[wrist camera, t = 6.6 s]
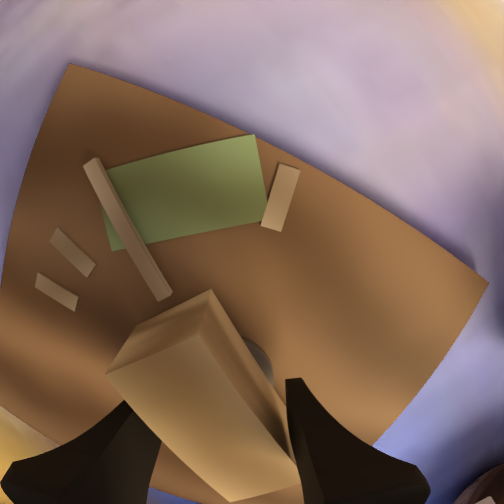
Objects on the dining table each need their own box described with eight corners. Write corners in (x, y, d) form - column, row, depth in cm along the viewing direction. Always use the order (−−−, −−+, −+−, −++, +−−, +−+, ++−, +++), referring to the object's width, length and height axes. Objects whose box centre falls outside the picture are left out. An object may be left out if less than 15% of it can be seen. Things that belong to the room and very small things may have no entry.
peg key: (225, 441, 15) (221, 503, 11) (58, 190, 12) (-6, 202, 7) (303, 413, 14) (317, 477, 10) (141, 131, 11) (92, 115, 7)
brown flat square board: (284, 509, 18) (285, 521, 17) (6, 394, 16) (-3, 404, 15) (476, 274, 14) (490, 282, 13) (82, 68, 11) (69, 61, 10)
